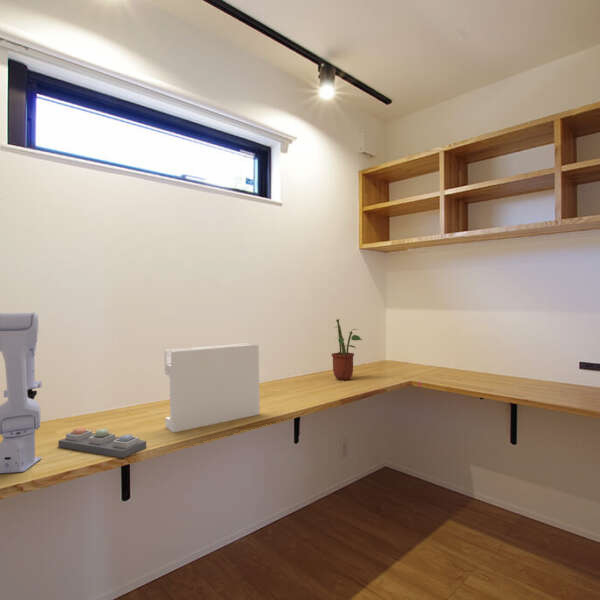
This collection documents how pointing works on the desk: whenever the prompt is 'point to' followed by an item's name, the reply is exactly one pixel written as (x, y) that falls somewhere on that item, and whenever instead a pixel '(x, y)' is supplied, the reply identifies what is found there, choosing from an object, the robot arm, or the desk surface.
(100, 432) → the sage button
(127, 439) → the slate button
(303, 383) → the desk surface
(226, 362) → the block
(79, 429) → the terracotta button
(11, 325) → the robot arm
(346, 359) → the potted plant
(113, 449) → the button panel
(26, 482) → the desk surface
